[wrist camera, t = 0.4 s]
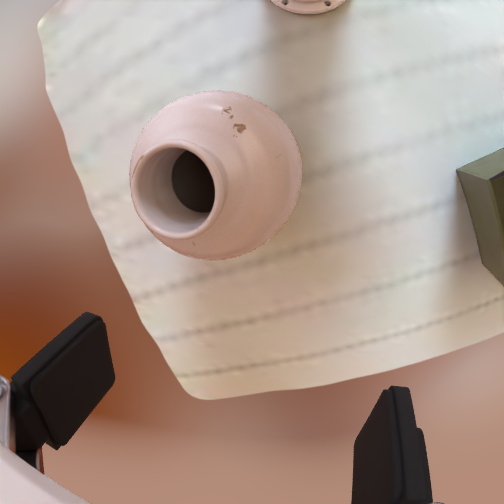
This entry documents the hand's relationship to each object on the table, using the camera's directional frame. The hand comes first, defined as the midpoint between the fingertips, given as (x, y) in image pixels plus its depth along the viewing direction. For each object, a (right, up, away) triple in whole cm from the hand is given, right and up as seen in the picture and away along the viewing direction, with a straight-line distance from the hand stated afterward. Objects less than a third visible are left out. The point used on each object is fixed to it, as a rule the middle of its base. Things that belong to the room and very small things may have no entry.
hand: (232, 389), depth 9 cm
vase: (0, +16, +33) cm, 37 cm away
